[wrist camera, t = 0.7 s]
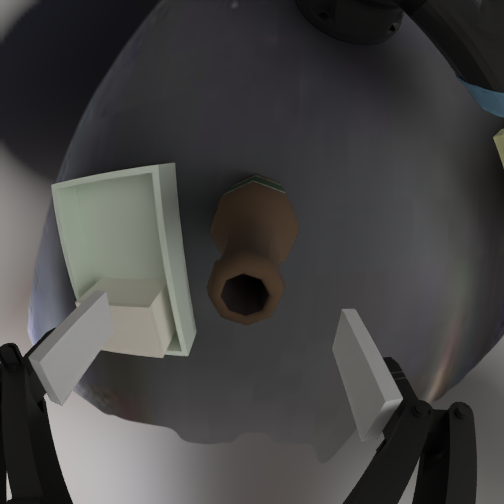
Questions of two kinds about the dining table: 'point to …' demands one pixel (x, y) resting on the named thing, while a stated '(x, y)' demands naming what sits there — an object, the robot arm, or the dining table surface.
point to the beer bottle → (251, 249)
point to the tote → (127, 236)
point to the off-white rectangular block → (137, 315)
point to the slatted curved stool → (500, 144)
